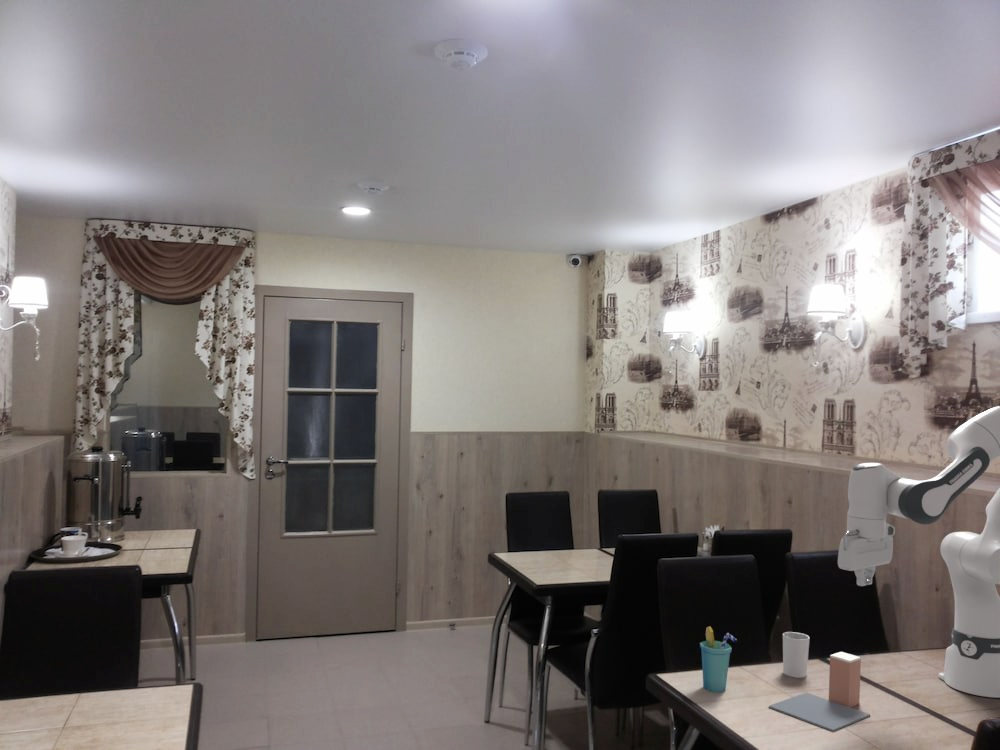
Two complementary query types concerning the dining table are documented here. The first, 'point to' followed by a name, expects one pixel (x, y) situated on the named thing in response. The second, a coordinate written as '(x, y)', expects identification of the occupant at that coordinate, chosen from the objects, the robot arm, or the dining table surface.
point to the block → (844, 679)
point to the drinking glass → (795, 654)
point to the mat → (819, 711)
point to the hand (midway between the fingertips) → (864, 584)
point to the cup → (715, 661)
